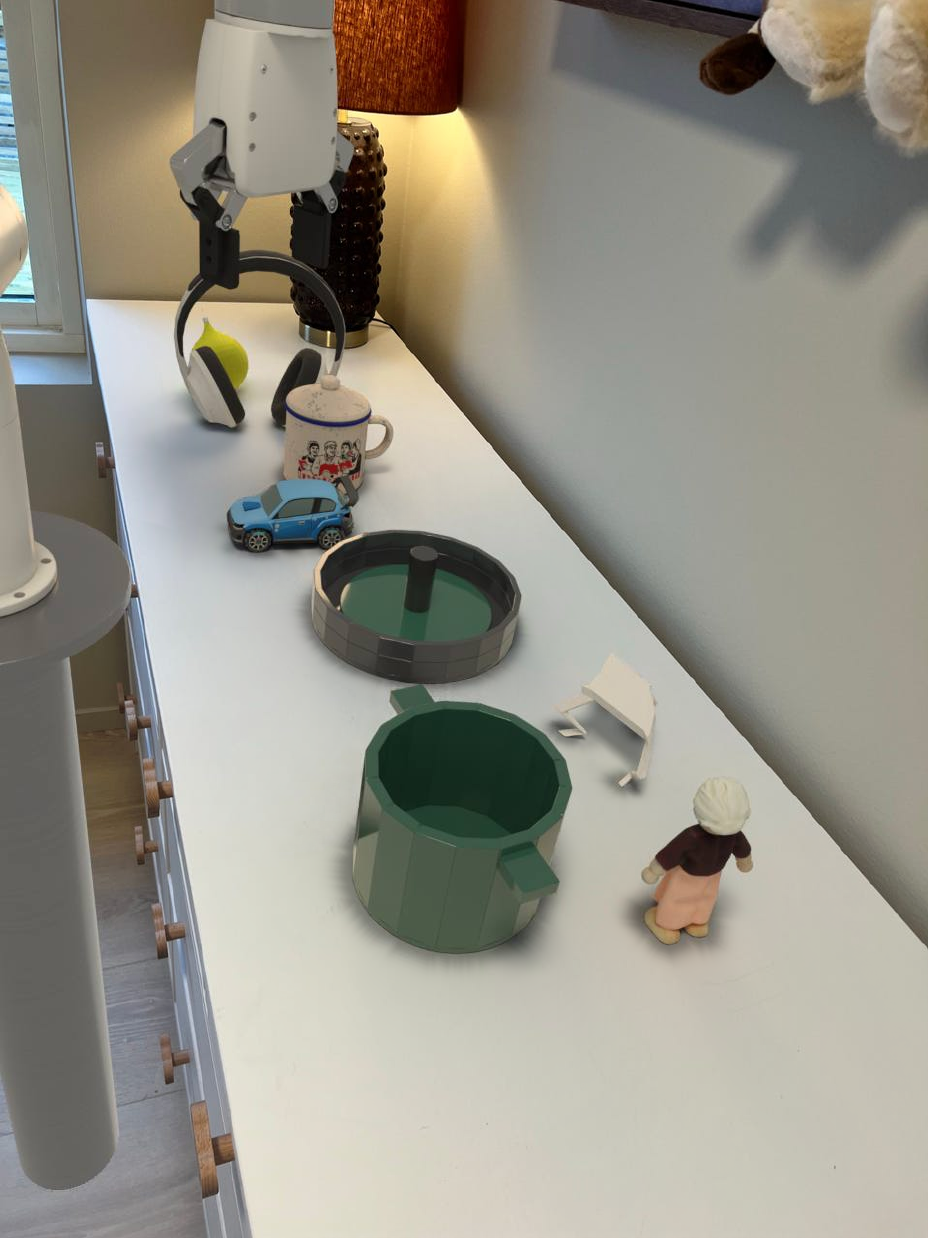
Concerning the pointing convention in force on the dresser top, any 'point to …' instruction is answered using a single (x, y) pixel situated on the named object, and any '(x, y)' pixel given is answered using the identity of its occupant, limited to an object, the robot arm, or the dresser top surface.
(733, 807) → the grandmother figurine
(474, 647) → the pan
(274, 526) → the toy car
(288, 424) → the teacup with lid
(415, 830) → the pot
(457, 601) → the lid
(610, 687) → the origami figure
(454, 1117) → the dresser top surface
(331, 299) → the headphones
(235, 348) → the yellow-green teardrop shape
